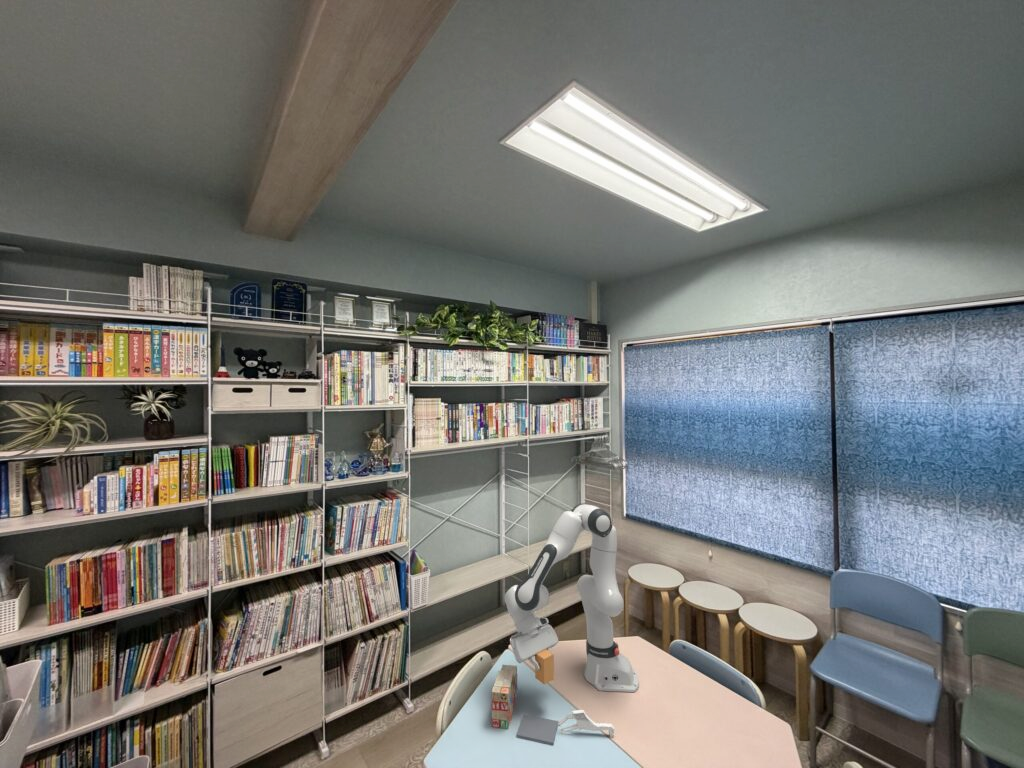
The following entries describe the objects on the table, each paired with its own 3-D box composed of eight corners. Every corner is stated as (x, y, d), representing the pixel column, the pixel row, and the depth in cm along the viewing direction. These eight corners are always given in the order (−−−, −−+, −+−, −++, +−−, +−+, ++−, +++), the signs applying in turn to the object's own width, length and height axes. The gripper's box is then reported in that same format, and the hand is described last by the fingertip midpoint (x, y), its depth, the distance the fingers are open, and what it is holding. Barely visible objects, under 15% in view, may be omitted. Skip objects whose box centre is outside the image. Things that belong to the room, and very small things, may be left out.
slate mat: (558, 723, 142) (558, 721, 142) (553, 745, 133) (553, 742, 133) (523, 716, 146) (523, 714, 146) (516, 737, 136) (516, 734, 136)
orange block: (544, 672, 153) (544, 648, 154) (553, 679, 149) (553, 654, 150) (535, 678, 150) (535, 652, 150) (544, 684, 146) (544, 659, 147)
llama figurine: (568, 754, 137) (616, 736, 136) (555, 720, 138) (603, 702, 137) (568, 749, 138) (616, 732, 137) (555, 716, 140) (602, 699, 139)
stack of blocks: (502, 688, 162) (502, 656, 163) (517, 689, 161) (517, 657, 162) (491, 727, 141) (491, 691, 142) (508, 730, 140) (508, 693, 141)
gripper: (511, 633, 150) (528, 673, 141) (550, 616, 163) (568, 652, 154) (504, 641, 153) (520, 680, 144) (542, 623, 166) (559, 659, 157)
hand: (545, 666), depth 149 cm, fingers closed on orange block, 5 cm apart
